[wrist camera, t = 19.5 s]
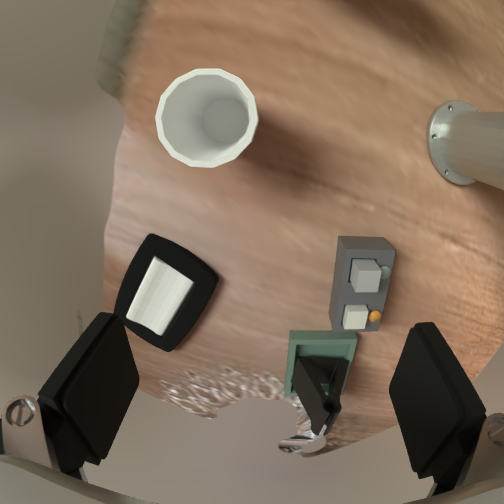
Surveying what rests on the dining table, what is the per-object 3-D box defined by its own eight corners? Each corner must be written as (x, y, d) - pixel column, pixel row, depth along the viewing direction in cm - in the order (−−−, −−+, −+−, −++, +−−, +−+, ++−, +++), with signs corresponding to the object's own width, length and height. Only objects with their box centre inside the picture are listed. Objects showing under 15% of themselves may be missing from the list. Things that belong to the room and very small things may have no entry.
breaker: (373, 259, 38) (381, 270, 35) (370, 279, 39) (377, 292, 36) (352, 258, 38) (358, 270, 35) (349, 279, 40) (355, 292, 36)
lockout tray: (354, 330, 48) (357, 339, 46) (340, 386, 54) (342, 395, 51) (289, 330, 49) (290, 339, 47) (284, 387, 54) (284, 396, 52)
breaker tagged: (362, 298, 42) (368, 311, 39) (359, 315, 44) (364, 328, 40) (343, 298, 43) (348, 311, 39) (340, 315, 44) (344, 329, 41)
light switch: (143, 227, 42) (223, 281, 43) (151, 222, 45) (228, 273, 46) (105, 317, 49) (169, 362, 50) (112, 309, 52) (175, 352, 53)
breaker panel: (383, 237, 42) (397, 252, 36) (369, 312, 47) (378, 333, 42) (338, 235, 42) (346, 251, 37) (328, 313, 47) (333, 334, 42)
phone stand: (290, 379, 50) (291, 434, 39) (297, 355, 48) (301, 412, 37) (338, 383, 50) (348, 436, 39) (348, 359, 48) (362, 413, 37)
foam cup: (265, 89, 35) (261, 70, 23) (260, 157, 39) (254, 170, 27) (193, 86, 35) (158, 70, 23) (189, 153, 39) (153, 165, 27)
